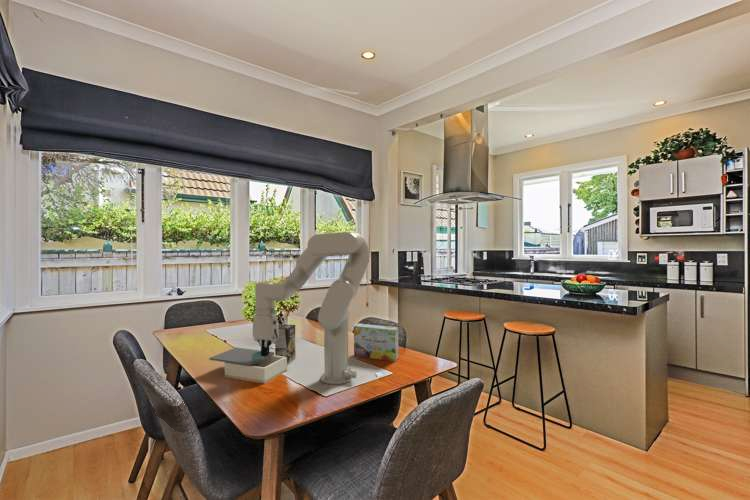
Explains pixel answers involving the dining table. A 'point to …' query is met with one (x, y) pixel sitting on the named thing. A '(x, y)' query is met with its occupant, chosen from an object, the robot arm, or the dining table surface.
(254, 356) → the lid
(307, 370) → the dining table surface
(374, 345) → the snack box
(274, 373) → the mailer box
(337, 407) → the dining table surface
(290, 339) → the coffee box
